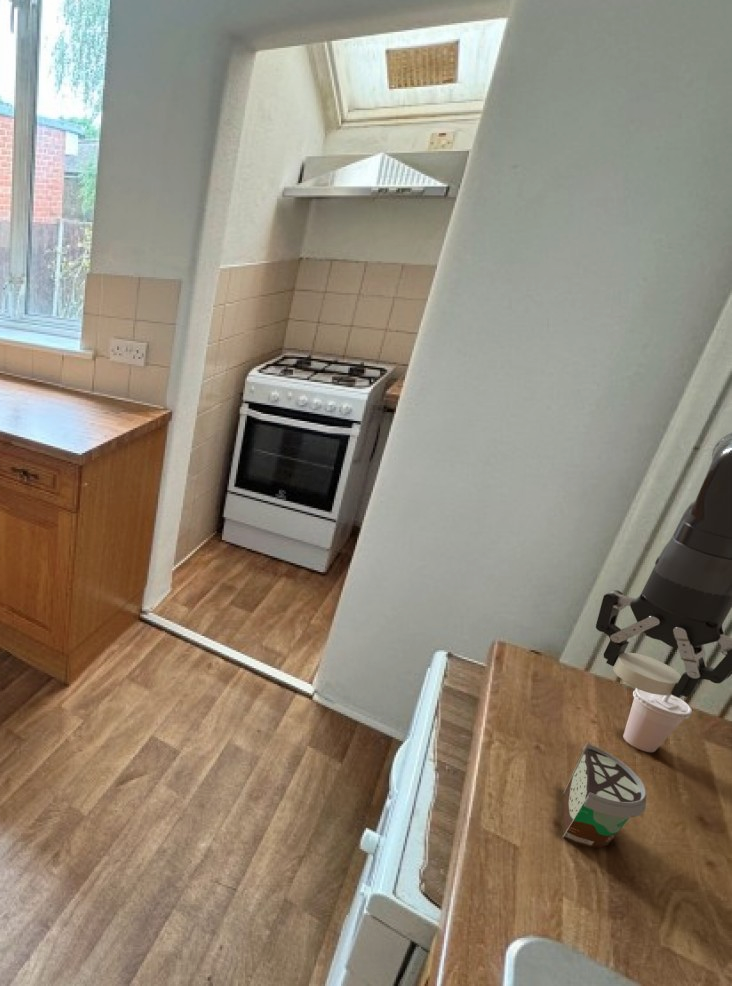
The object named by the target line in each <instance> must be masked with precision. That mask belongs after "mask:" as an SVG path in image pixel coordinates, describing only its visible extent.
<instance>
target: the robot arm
mask: <svg viewBox="0 0 732 986" xmlns="http://www.w3.org/2000/svg"><path fill="white" fill-rule="evenodd" d="M627 606H628V607H630V610H631V611H632V613H633V616H634V619H635V620H636V622H634V623H633V624H630V625H629V626H626V627H624V628H622V629H621V628H620V627H619V626H617V625H616V623H617V620H618V616H619V612H620V611H621V610H624V609H625V608H626V607H627ZM731 610H732V431H731V432H729V433H727V434H725V435H724V436H722V437H721V438H720V439H718V441H717V442H716V443H715V445H714V446H713V448H712V452H711V462H710V465H709V468H708V470H707V473H706V475H705V478H704V479H703V482H702V484H701V487H700V489H699V491H698V493H697V496H696V498H695V500H693V501H691V503H690V504H689V505H688V506H687V507H686V509H685V511H684V512H683V513H682V516H681V518H680V520H679V522H678V524H677V526H676V528H675V530H674V532H673V534H672V536H671V537H670V540H669V541H668V542H667V543H666V544H665V545H664V547H663V548H662V550H661V552H660V554H659V556H657V558H656V560H655V562H654V567H653V568H652V570H651V572H650V575H649V577H648V579H647V580H646V583H645V585H644V587H643V589H642V591H641V593H640V595H638V597H636V598H634V597H631V596H627V595H625V594H623V592H622V591H621V590H617V589H615V590H612V591H609V592H607V593H606V594H604V595H603V597H602V600H601V605H600V608H599V613H598V615H597V620H596V624H595V629H596V630H597V631H598V632H600V633H604V634H605V635H607V636H608V638H609V642H608V644H607V646H606V648H605V650H604V652H603V655H602V656H603V658H604V660H606V661H605V664H606V665H609V666H611V667H613V666H614V664H615V662H616V660H617V658H618V656H619V655H620V654H621V653H626V649H627V648H628V646H629V644H630V641H628V639H631V638H633V637H635V636H638V635H639V634H642V633H644V636H645V637H649V639H653V640H657V641H660V642H662V643H664V644H666V645H667V646H669V647H671V648H673V649H676V650H677V649H678V653H679V657H680V659H681V660H682V662H683V665H684V669H685V672H683V673H682V674H681V678H680V680H679V682H678V683H677V685H676V687H675V689H674V691H673V693H672V695H673V696H675V697H678V698H680V699H681V698H682V697H685V698H688V697H689V696H691V695H693V694H694V693H696V691H697V689H698V688H699V686H700V684H701V682H702V680H706V681H710V682H711V683H713V684H722V683H723V682H724V681H726V680H728V679H729V678H730V677H731V676H732V637H730V636H728V635H726V634H725V633H724V630H723V624H724V622H725V620H726V618H727V616H728V615H729V613H730V611H731ZM712 643H718V644H719V645H720V649H719V651H720V653H721V654H722V655H723V656H724V657H723V658H722V659H721V661H719V662H718V664H717V665H716V666H715V667H714V668H713V667H709V666H708V665H707V661H706V649H705V645H707V644H712Z"/></svg>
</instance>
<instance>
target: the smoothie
mask: <svg viewBox="0 0 732 986" xmlns="http://www.w3.org/2000/svg"><path fill="white" fill-rule="evenodd" d="M632 696H633V701H632V704H631V708H630V711H629V715H628V718H627V722H626V725H625V728H624V732H623V736H622V737H623V739H624V741H625V742H626V743H628V744H629V745H631V746H632V747H634V748H636V749H637V750H640V751H643V752H646V753H655V752H656V751H657V750H658V749H659V748H660V746H661V745H662V744H663V743H664V742H665V741H666V740H667V739H668V737H669V736H671V734H672V733H673V732H674V731H675V730H676V729H677V728H678V726H679V725H680V724H681V723H682V722H683V721H684V720H687V719H690V717H691V714H692V713H693V710H692V707H691V706H690V705H689V704H688V703H687V702H686V701H684V700H683V699H682V698H681V697H680V698H678V697H675V696H673V695H658V694H652V693H648V692H645V691H642V690H639V689H637V688H635V689H634V690H633V692H632Z"/></svg>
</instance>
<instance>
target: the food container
mask: <svg viewBox="0 0 732 986" xmlns="http://www.w3.org/2000/svg"><path fill="white" fill-rule="evenodd" d="M581 752H582V754H581V756H580V757H579V760H578V762H577V764H576V766H575V768H574V770H573V771H572V773H571V774H572V775H571V777H570V778H569V781H568V783H567V785H566V788H565V789H564V792H563V794H562V795H563V796H564V797H563V812H564V813H563V829H564V830H563V833H564V834H563V836H562V838H563V839H564V840H565V839H566V840H567V841H570V842H572V843H573V844H578V845H581V846H584V847H588V848H603V847H607V846H608V845H609V844H610V843H611V842H612V840H613V839H614V838H615V837H616V835H617V834H618V833H619V831H620V830H621V829H622V828H623V827H624V825H625V824H626V823H627V822H628V821H629V819H630V818H636V817H639V816H641V815H642V814H643V813H644V812H645V810H646V806H647V797H648V796H647V793H646V787H645V785H644V783H643V781H642V779H640V777H639V776H638V774H637V773H635V772H634V771H633V769H631V768H630V767H629V766H628V765H627V764H626V763H624V761H621V760H620V759H619V758H617V757H616V756H614V755H613V754H611V753H609V752H607V751H606V750H605V749H602V748H601V747H598V746H597V745H594V744H592V743H590V742H587V743H586V744H585V746H584V747H583V749H582V751H581Z"/></svg>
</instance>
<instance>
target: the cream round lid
mask: <svg viewBox="0 0 732 986" xmlns="http://www.w3.org/2000/svg"><path fill="white" fill-rule="evenodd" d="M612 670H613V673H614V674H615V675H616V676H617V677H619V678H620V679H621V680H622V681H623V682H625V683H626V684H628V685H630V686H631V687H632V688H635V689H636V688H637V689H639V690H642V691H645V692H648V693H652V694H658V695H672V693H673V691H674V689H675V687H676V685H677V683H678V682H679V680H680V678H681V676H682V674H681V673H679V672H678V671H677V670H676V669H675V668H673V667H671V666H670V665H668V664H666V663H664V662H662V661H660V660H658V659H655V658H653V657H650V656H647V655H644V654H640V653H635V652H624V653H621V654H620V655H619V656H618V658H617V660H616V662H615V664H614V666H612Z"/></svg>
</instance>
